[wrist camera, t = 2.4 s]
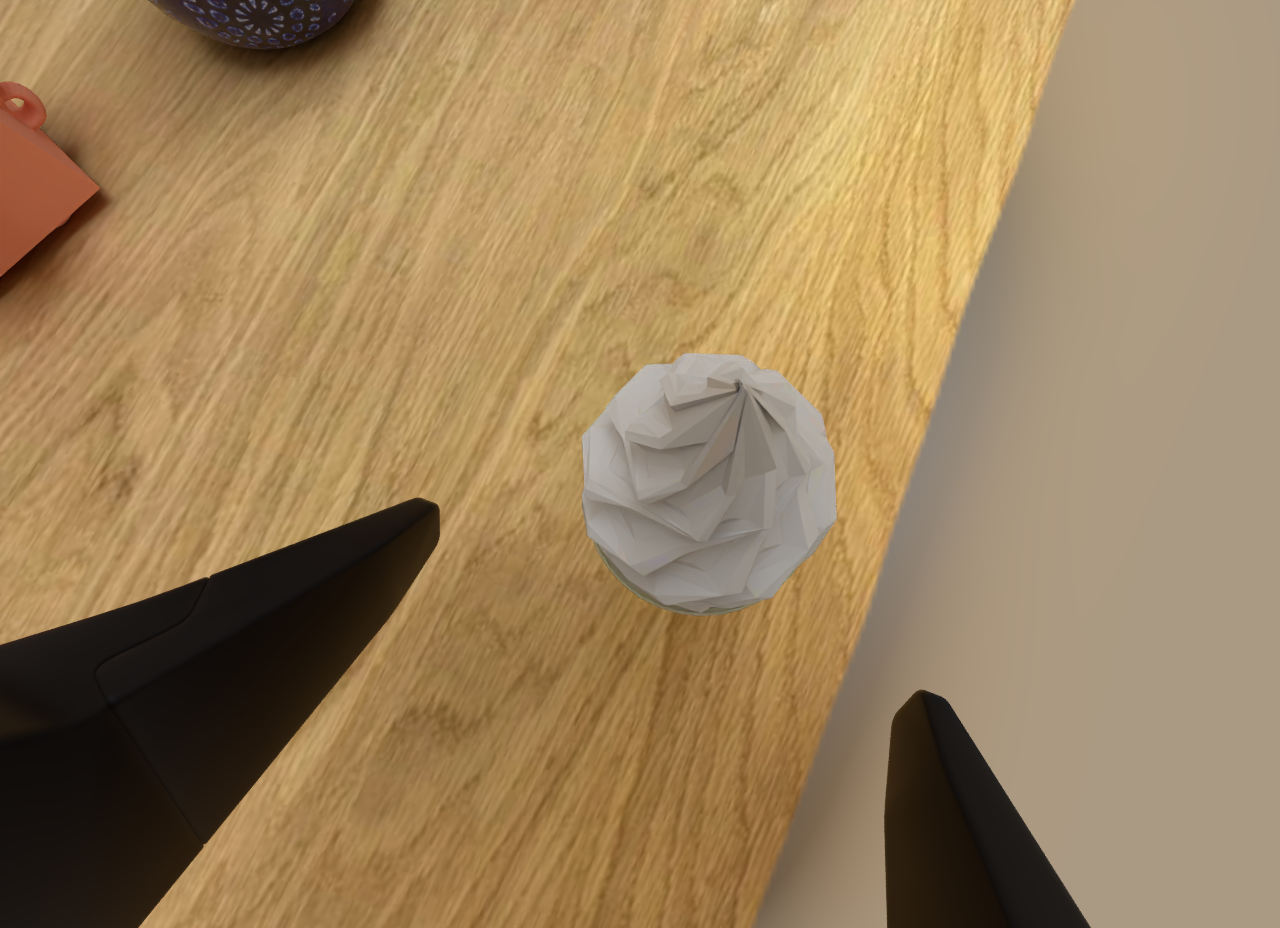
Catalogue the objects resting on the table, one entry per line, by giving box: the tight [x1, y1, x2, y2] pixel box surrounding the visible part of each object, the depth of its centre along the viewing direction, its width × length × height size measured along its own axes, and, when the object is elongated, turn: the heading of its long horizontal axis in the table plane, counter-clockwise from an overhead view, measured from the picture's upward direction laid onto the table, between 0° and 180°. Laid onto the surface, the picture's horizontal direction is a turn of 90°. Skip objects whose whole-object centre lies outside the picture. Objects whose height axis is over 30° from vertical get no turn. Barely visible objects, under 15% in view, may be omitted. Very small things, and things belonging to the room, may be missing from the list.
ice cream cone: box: [582, 353, 837, 616], centre depth 13 cm, size 5×5×15 cm
